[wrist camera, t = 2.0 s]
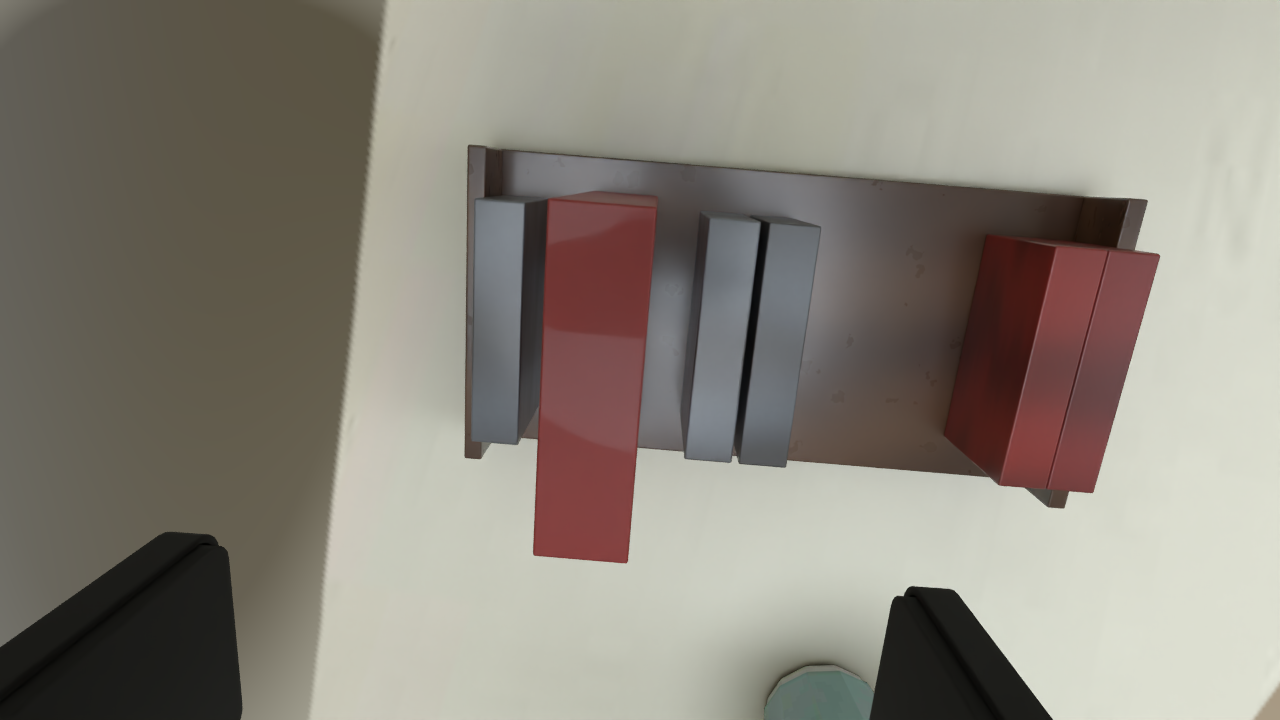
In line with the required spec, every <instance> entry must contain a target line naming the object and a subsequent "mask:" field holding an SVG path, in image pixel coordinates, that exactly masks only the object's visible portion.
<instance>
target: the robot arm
mask: <svg viewBox="0 0 1280 720" xmlns="http://www.w3.org/2000/svg"><path fill="white" fill-rule="evenodd" d="M241 714H242V695H241V684H240V673H239V663H238V652H237V641H236V630H235V619H234V609H233V598H232V587H231V577H230V566H229V557H228V552H227V550H226V549H225V548H224V547H222V546H219V545H218V542H217V540H216V539H215V537H213V536H211V535H208V534H193V533H180V532H165V533H163V534H161V535H159V536H157V537H156V538H154V539H153V540H151V541H150V542H149V543H147V544H146V545H144V546H143V547H142V548H140V549H139V550H138V551H136V552H135V553H133V554H132V555H130V556H129V557H127V558H126V559H125V560H123V561H122V562H120V563H119V564H117V565H116V566H115V567H113V568H112V569H110V570H109V571H108V572H106V573H105V574H103V575H102V576H101V577H99V578H98V579H96V580H95V581H93V582H92V583H91V584H89V585H88V586H86V587H85V588H84V589H82V590H81V591H79V592H78V593H76V594H75V595H74V596H72V597H71V598H69V599H68V600H67V601H65V602H64V603H62V604H61V605H59V606H58V607H57V608H55V609H54V610H52V611H51V612H50V613H48V614H47V615H45V616H44V617H42V618H41V619H40V620H38V621H37V622H35V623H34V624H33V625H31V626H30V627H28V628H27V629H25V630H24V631H23V632H21V633H20V634H18V635H17V636H16V637H14V638H13V639H11V640H10V641H9V642H7V643H6V644H4V645H3V646H1V647H0V720H240V719H241ZM869 720H1053V719H1052V718H1051V717H1050V715H1049V714H1048V713H1047V711H1046V710H1045V709H1044V707H1043V706H1042V705H1041V703H1040V702H1039V701H1038V699H1037V698H1036V697H1035V695H1034V694H1033V693H1032V691H1031V690H1030V689H1029V687H1028V686H1027V685H1026V683H1025V682H1024V681H1023V680H1022V678H1021V677H1020V676H1019V674H1018V673H1017V672H1016V670H1015V669H1014V668H1013V666H1012V665H1011V664H1010V662H1009V661H1008V660H1007V658H1006V657H1005V656H1004V654H1003V653H1002V652H1001V650H1000V649H999V648H998V646H997V645H996V644H995V643H994V641H993V640H992V639H991V637H990V636H989V635H988V633H987V632H986V631H985V629H984V628H983V627H982V625H981V624H980V623H979V621H978V620H977V619H976V617H975V616H974V615H973V613H972V612H971V611H970V609H969V608H968V607H967V606H966V604H965V603H964V602H963V600H962V599H961V598H960V596H959V595H958V594H957V593H956V592H955V591H954V590H951V589H942V588H929V587H915V586H911V587H909V588H908V589H907V590H906V592H905V594H904V596H896V597H895V598H894V599H893V601H892V604H891V608H890V614H889V619H888V624H887V629H886V634H885V640H884V645H883V650H882V655H881V660H880V666H879V671H878V676H877V681H876V686H875V692H874V697H873V702H872V707H871V712H870V718H869Z"/></svg>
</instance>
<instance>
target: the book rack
mask: <svg viewBox="0 0 1280 720" xmlns="http://www.w3.org/2000/svg"><path fill="white" fill-rule="evenodd" d="M591 191H602V192H615V193H627V194H639V195H651V196H658V205H657V218H656V230H655V242H654V254H653V266H652V278H651V290H650V302H649V314H648V326H647V338H646V350H645V362H644V374H643V386H642V398H641V410H640V422H639V434H638V446H637V448H649V449H660V450H672V451H684V458H685V459H691V460H703V461H715V462H727V463H730V462H731V461H732V456H737V458H738V462H739V464H748V465H760V466H772V467H784V468H785V467H786V464H787V460H792V461H803V462H815V463H827V464H839V465H851V466H863V467H875V468H887V469H899V470H911V471H923V472H934V473H946V474H958V475H970V476H982V477H990V478H991V479H992V480H993V481H994V482H996V483H997V484H998V485H1000V486H1012V487H1024V488H1026V489H1027V490H1028V491H1029V492H1030V493H1031V494H1033V495H1034V496H1035V497H1036V498H1037V499H1039V500H1040V501H1041V502H1042V503H1043V504H1045V505H1046V506H1047V507H1051V508H1064V507H1065V504H1066V500H1067V496H1068V493H1069V491H1073V492H1085V493H1093V492H1094V488H1095V485H1096V481H1097V478H1098V474H1099V471H1100V467H1101V464H1102V460H1103V456H1104V453H1105V449H1106V446H1107V442H1108V439H1109V435H1110V432H1111V428H1112V425H1113V421H1114V418H1115V414H1116V410H1117V407H1118V403H1119V400H1120V396H1121V393H1122V389H1123V386H1124V382H1125V379H1126V375H1127V372H1128V368H1129V364H1130V361H1131V357H1132V354H1133V350H1134V347H1135V343H1136V340H1137V336H1138V333H1139V329H1140V326H1141V322H1142V319H1143V315H1144V311H1145V308H1146V304H1147V301H1148V297H1149V294H1150V290H1151V287H1152V283H1153V280H1154V276H1155V273H1156V269H1157V265H1158V262H1159V258H1160V255H1159V254H1156V253H1149V252H1143V251H1136V250H1135V246H1136V243H1137V239H1138V235H1139V232H1140V228H1141V224H1142V221H1143V217H1144V213H1145V210H1146V206H1147V202H1148V200H1144V199H1132V198H1108V197H1083V196H1071V195H1059V194H1046V193H1034V192H1022V191H1010V190H997V189H985V188H973V187H960V186H948V185H936V184H924V183H911V182H899V181H887V180H874V179H862V178H850V177H838V176H825V175H813V174H801V173H788V172H776V171H764V170H752V169H739V168H727V167H715V166H702V165H690V164H678V163H666V162H653V161H641V160H629V159H616V158H604V157H592V156H580V155H567V154H555V153H543V152H530V151H518V150H506V149H498V148H493V147H488V146H480V145H468V167H467V266H466V366H465V458H471V459H481V458H482V456H483V455H484V453H485V452H486V450H487V449H488V447H489V445H490V444H491V443H500V444H512V445H518V443H519V441H520V439H521V438H529V439H538V422H539V398H540V373H541V349H542V324H543V300H544V276H545V251H546V227H547V202H548V199H549V198H554V197H560V196H566V195H572V194H578V193H584V192H591Z"/></svg>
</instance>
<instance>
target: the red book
mask: <svg viewBox="0 0 1280 720" xmlns="http://www.w3.org/2000/svg"><path fill="white" fill-rule="evenodd" d="M657 205H658V196H651V195H639V194H627V193H615V192H602V191H591V192H584V193H578V194H572V195H566V196H560V197H554V198H549V199H548V202H547V227H546V251H545V276H544V300H543V324H542V349H541V373H540V398H539V422H538V446H537V471H536V495H535V520H534V544H533V554H534V555H535V556H545V557H557V558H568V559H580V560H592V561H604V562H616V563H627V562H628V554H629V542H630V530H631V518H632V506H633V494H634V482H635V470H636V458H637V446H638V434H639V422H640V410H641V398H642V386H643V374H644V362H645V350H646V338H647V326H648V314H649V302H650V290H651V278H652V266H653V254H654V242H655V230H656V218H657Z"/></svg>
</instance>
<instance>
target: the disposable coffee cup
mask: <svg viewBox="0 0 1280 720" xmlns="http://www.w3.org/2000/svg"><path fill="white" fill-rule="evenodd" d="M873 697H874V692H873V691H872V690H871V688H870V687H869V685H868V684H867V682H864V681H862V680H861V679H860V677H859V676H858V675H856V674H853V673H851V672H849V671H846V670H844V669H842V668H840V667H837V666H835V665H823V666H805V667H803V668H801V669H799V670H797V671H795V672H793V673H791V674H789V675H787V676H785V677H783V678H782V679H781V680H780V681H779V683H778V684H777V686H776V687H775V689H774V690H773V691H772V693H771V694H770V696H769V697H768V699H767V705H766V707H765V708H764V720H869V718H870V712H871V707H872V702H873Z"/></svg>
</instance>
